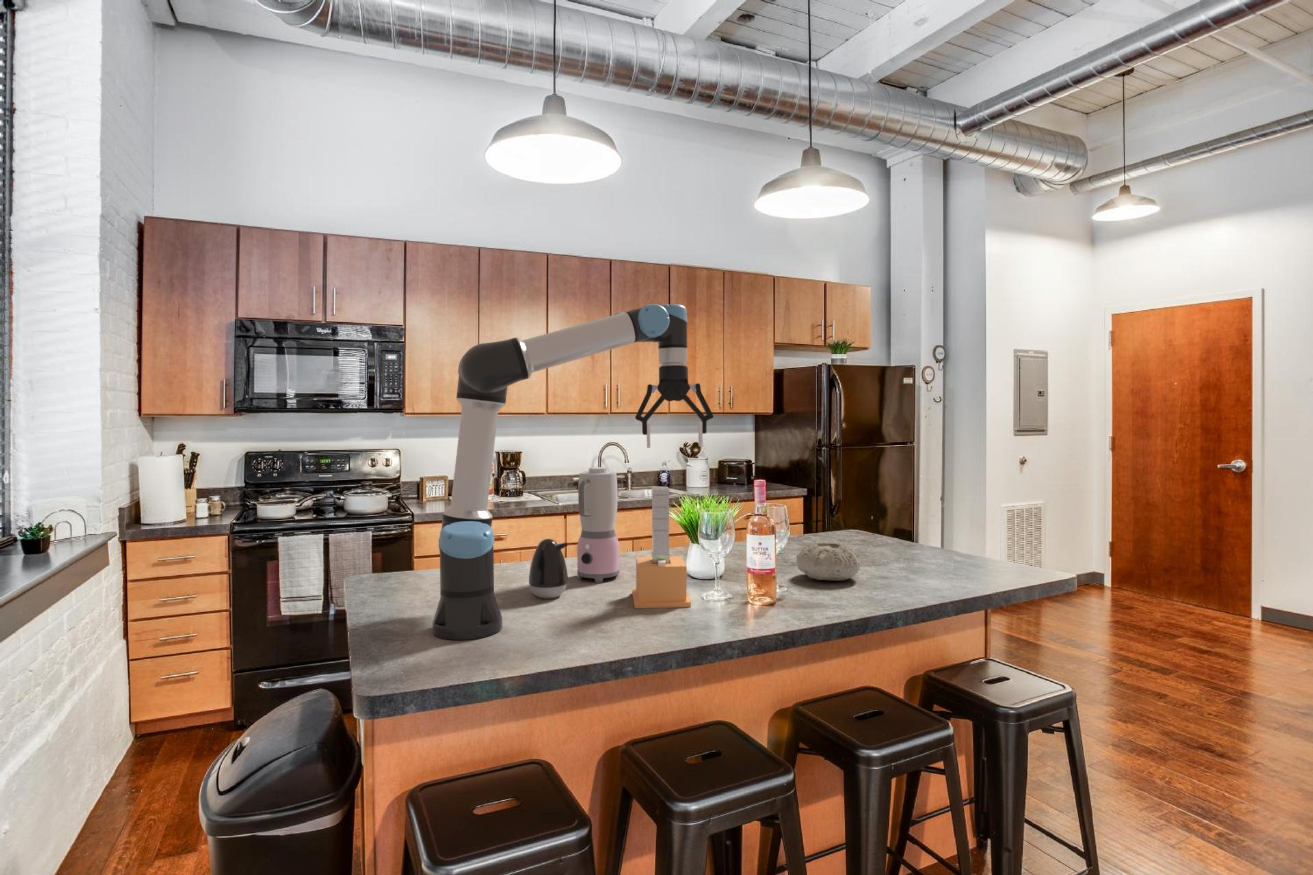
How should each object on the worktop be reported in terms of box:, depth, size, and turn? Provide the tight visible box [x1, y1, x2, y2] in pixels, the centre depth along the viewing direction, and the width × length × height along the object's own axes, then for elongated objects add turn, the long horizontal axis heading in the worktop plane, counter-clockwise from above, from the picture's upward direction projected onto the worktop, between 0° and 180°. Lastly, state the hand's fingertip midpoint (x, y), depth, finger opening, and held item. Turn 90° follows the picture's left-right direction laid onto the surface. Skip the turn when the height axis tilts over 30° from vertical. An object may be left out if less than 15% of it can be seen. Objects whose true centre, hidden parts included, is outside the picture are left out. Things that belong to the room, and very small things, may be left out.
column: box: [650, 486, 671, 564], centre depth 185 cm, size 6×4×22 cm
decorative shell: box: [796, 541, 861, 582], centre depth 208 cm, size 18×18×10 cm
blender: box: [576, 466, 620, 583], centre depth 208 cm, size 16×12×32 cm
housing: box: [631, 555, 692, 609], centre depth 185 cm, size 14×14×11 cm
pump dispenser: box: [528, 538, 569, 600], centre depth 189 cm, size 10×10×15 cm
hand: (674, 447), depth 188 cm, fingers open, 13 cm apart
